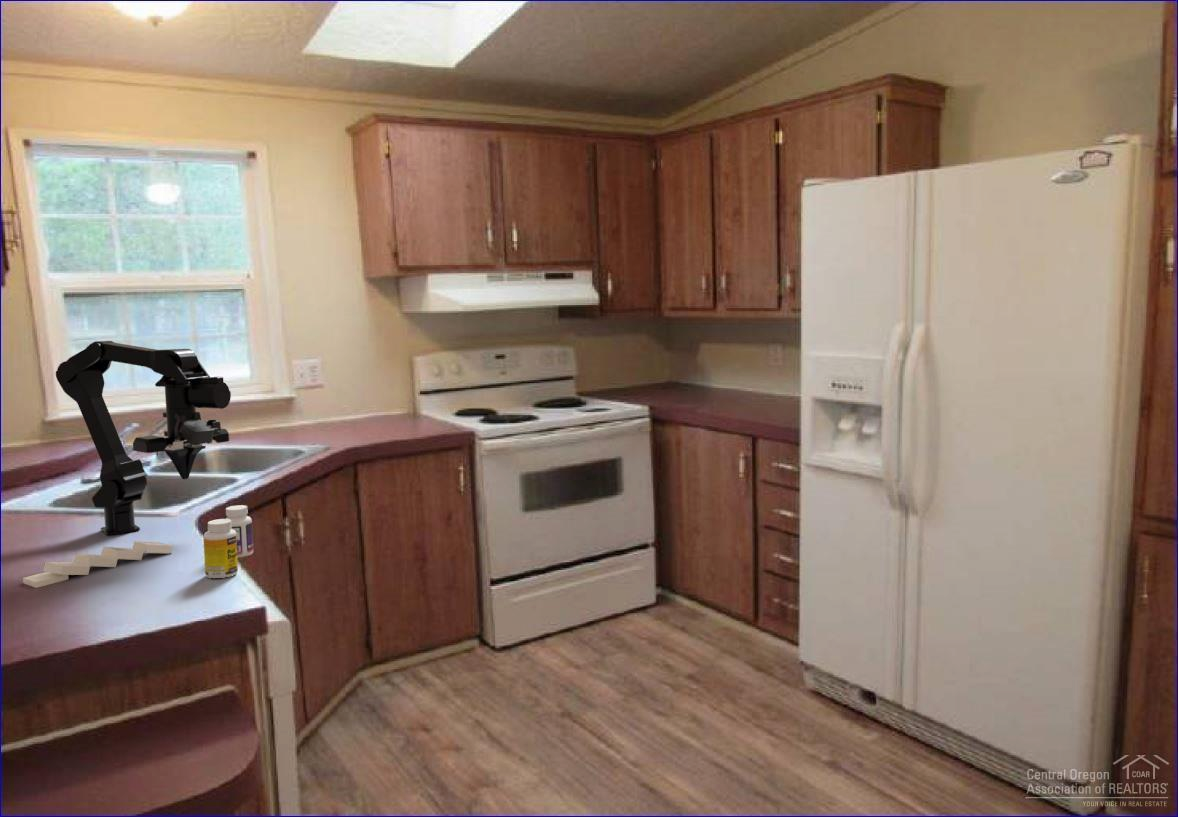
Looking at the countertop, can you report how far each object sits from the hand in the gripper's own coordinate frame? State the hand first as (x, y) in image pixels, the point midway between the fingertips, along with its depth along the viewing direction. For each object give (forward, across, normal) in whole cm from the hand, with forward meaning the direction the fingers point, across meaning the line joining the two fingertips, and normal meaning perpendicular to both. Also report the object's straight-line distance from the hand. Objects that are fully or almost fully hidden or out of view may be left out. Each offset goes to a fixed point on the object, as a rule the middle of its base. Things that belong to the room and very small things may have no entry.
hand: (185, 478), depth 175 cm
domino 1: (+12, -29, -7) cm, 32 cm away
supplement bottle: (+13, -12, -31) cm, 36 cm away
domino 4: (+12, -15, -7) cm, 20 cm away
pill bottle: (+13, -3, -22) cm, 26 cm away
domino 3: (+12, -20, -7) cm, 24 cm away
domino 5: (+12, -10, -8) cm, 17 cm away
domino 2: (+12, -26, -8) cm, 29 cm away
